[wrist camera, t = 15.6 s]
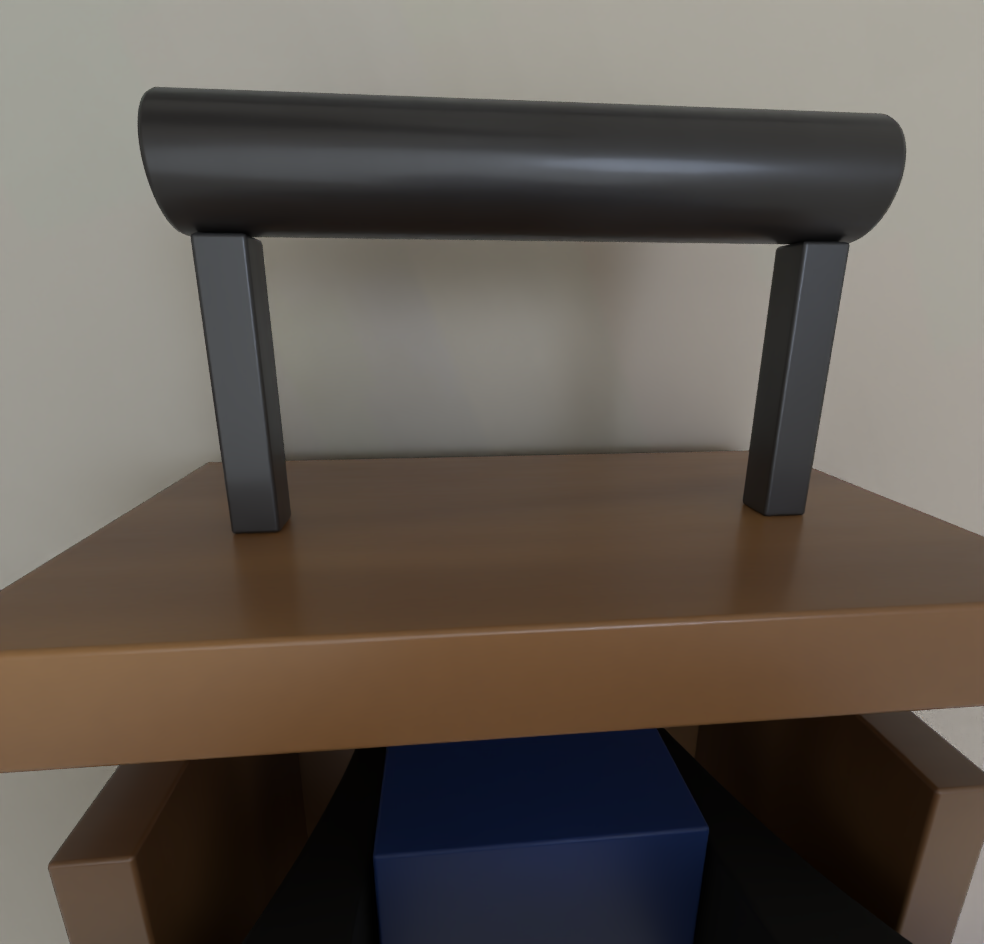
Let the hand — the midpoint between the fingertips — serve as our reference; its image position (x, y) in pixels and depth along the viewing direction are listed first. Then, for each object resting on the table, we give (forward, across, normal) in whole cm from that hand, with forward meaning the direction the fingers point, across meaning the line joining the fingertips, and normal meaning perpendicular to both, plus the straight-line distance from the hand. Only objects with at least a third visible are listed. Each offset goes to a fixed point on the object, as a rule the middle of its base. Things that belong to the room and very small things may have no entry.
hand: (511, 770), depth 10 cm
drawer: (+2, 0, -1) cm, 3 cm away
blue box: (+1, 0, 0) cm, 1 cm away
